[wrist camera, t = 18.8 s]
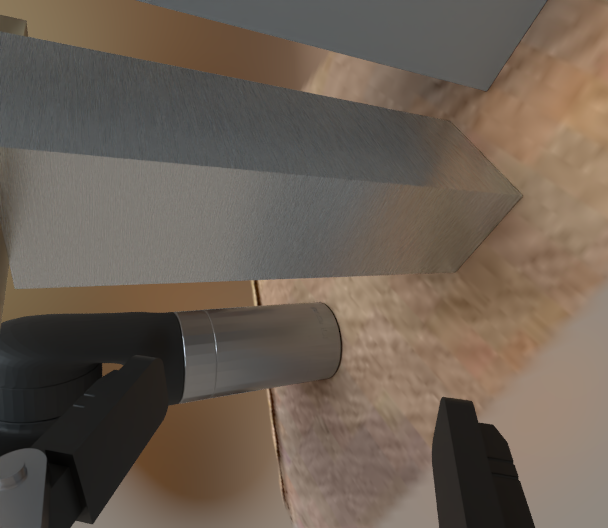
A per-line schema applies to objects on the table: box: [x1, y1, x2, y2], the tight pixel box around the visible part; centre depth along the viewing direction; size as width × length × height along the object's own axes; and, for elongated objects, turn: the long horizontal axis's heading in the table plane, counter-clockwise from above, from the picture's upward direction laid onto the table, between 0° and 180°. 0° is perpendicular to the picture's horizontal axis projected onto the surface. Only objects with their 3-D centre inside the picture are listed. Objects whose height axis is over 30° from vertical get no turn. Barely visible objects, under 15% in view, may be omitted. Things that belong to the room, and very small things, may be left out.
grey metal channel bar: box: [0, 31, 523, 289], centre depth 25 cm, size 8×9×31 cm
